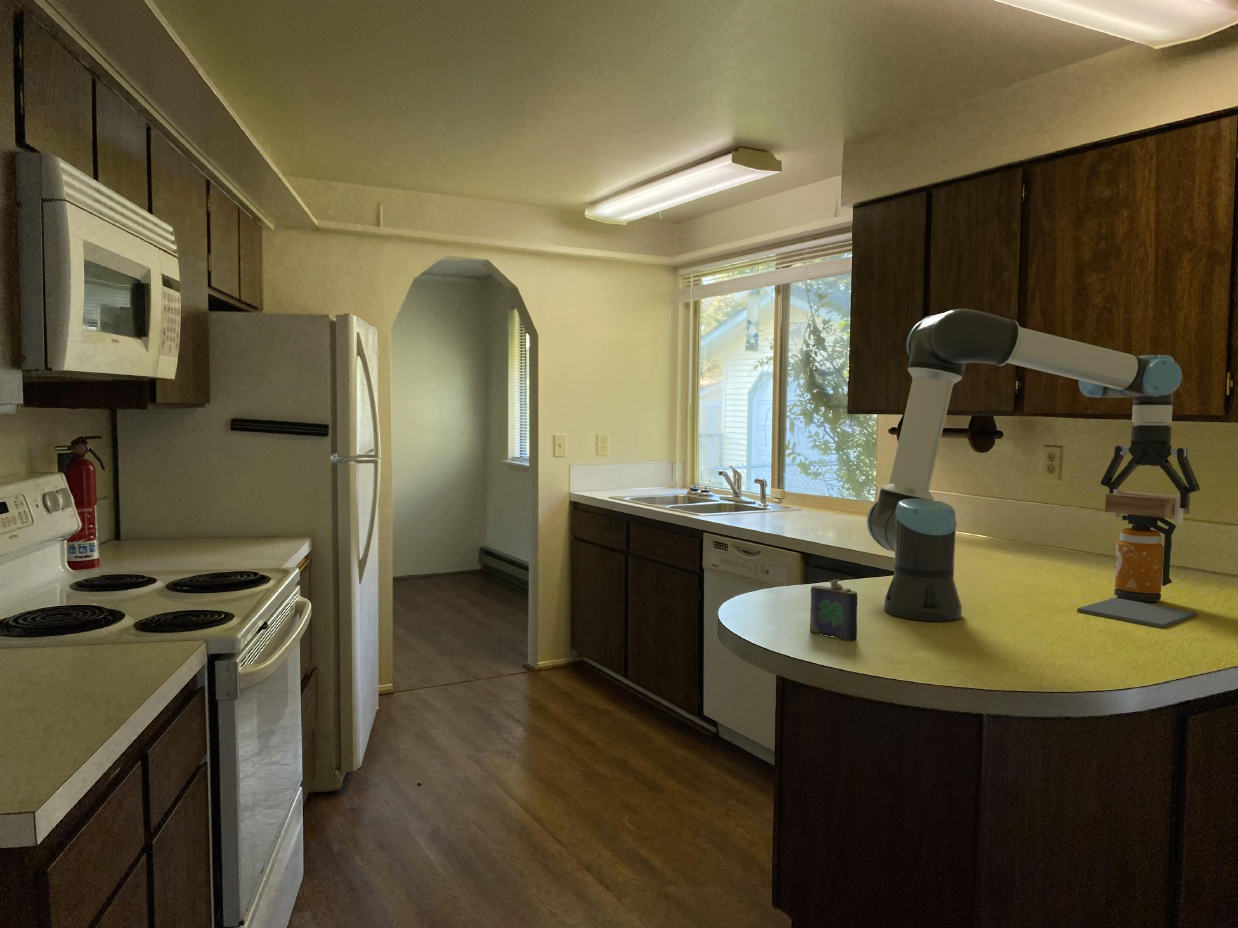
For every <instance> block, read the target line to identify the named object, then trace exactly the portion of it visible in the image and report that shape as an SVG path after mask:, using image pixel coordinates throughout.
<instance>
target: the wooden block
mask: <svg viewBox="0 0 1238 928" xmlns="http://www.w3.org/2000/svg"><path fill="white" fill-rule="evenodd" d="M1175 495H1176V494H1171V493H1170V494H1168V493H1157V492H1155V493H1154V492H1145V491H1144V492H1143V491H1124V492H1123V491H1122V493H1113V494H1109V493H1106V494H1105V503H1104V504H1105V507H1104V509H1105V510H1104V512H1105V513H1121V515H1127V514H1132V515H1142V516H1151V517H1161V518H1165V519H1166V518H1171V517H1174V514H1175ZM1190 503H1191V495H1189V506H1188V508H1186V509H1183V516H1184V515H1188V514H1190V505H1191V504H1190Z"/></svg>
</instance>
